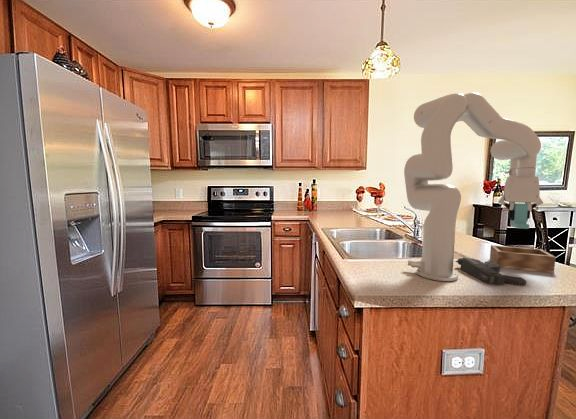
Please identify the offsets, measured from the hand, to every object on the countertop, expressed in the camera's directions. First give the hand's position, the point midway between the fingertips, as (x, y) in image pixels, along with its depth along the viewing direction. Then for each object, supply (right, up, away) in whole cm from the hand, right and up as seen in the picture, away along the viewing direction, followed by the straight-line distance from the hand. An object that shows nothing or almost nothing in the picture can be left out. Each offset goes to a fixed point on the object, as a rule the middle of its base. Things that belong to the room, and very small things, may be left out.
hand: (518, 219), depth 105 cm
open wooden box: (0, -18, 0) cm, 18 cm away
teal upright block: (-1, -3, -1) cm, 3 cm away
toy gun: (-20, -20, -11) cm, 30 cm away
